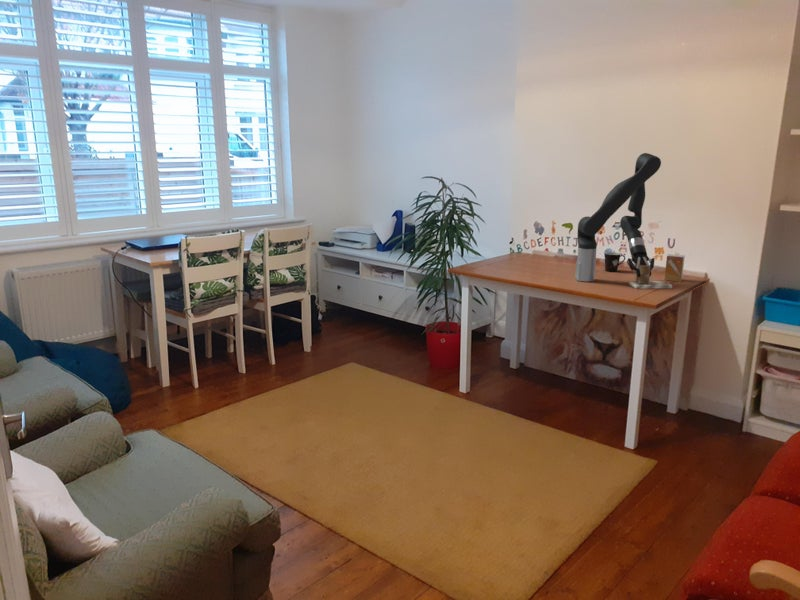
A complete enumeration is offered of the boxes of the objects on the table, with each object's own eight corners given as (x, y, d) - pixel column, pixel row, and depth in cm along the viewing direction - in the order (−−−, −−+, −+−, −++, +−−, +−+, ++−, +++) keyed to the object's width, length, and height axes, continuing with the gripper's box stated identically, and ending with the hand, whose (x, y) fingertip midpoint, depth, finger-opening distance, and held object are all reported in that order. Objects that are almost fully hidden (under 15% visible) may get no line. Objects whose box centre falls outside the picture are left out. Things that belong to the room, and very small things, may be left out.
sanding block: (639, 284, 310) (641, 266, 308) (635, 282, 315) (637, 264, 313) (648, 284, 310) (650, 266, 308) (644, 282, 315) (646, 264, 313)
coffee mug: (603, 272, 347) (605, 254, 345) (602, 269, 355) (603, 251, 353) (625, 273, 345) (627, 255, 342) (624, 269, 353) (625, 252, 350)
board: (636, 288, 308) (636, 285, 308) (628, 284, 318) (628, 281, 318) (672, 288, 308) (672, 285, 308) (663, 283, 318) (663, 280, 318)
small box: (664, 280, 326) (666, 255, 323) (665, 277, 332) (668, 253, 328) (680, 281, 322) (683, 257, 319) (682, 279, 328) (684, 255, 324)
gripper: (625, 244, 315) (632, 272, 307) (653, 243, 315) (661, 272, 307) (621, 252, 322) (627, 280, 313) (648, 252, 322) (656, 280, 313)
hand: (644, 276), depth 310 cm, fingers closed on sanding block, 4 cm apart
